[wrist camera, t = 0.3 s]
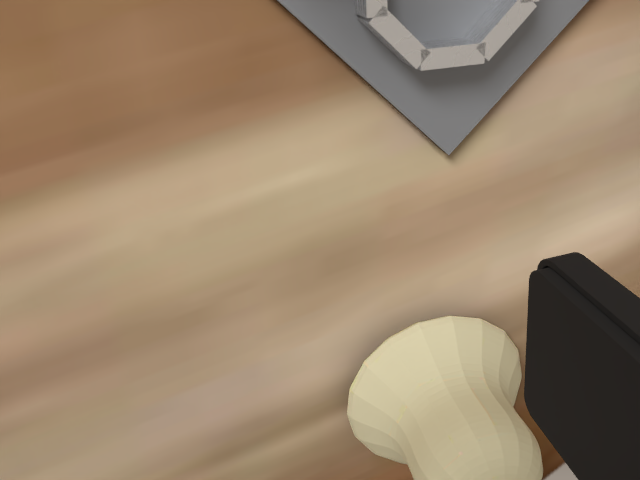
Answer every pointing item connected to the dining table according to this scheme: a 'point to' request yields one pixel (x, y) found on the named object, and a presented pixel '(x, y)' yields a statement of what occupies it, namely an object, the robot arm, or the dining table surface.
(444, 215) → the dining table surface
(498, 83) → the gray board
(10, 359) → the dining table surface
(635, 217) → the dining table surface
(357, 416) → the handbell
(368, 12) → the steel collar
